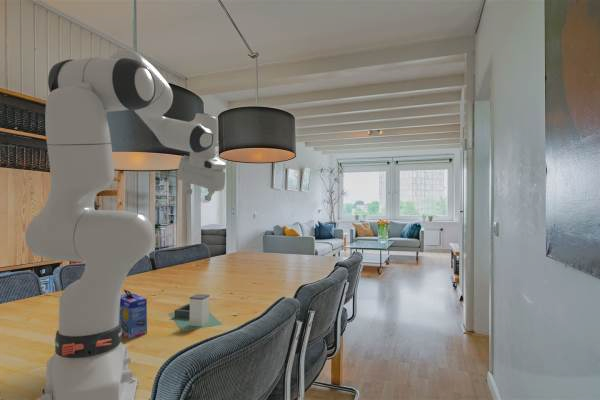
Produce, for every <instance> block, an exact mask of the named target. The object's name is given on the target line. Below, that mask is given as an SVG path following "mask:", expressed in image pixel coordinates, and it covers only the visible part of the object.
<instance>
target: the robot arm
mask: <svg viewBox="0 0 600 400" xmlns="http://www.w3.org/2000/svg"><path fill="white" fill-rule="evenodd" d="M47 81H48V82H47V83H48V89H49V93H48V95H47V97H46V101H45V112H44V115H45V116H44V117H45V118H44V120H45V121H44V124H45V125H44V128H45V129H44V130H45V138H46V144H47V145H46V147H47V153H48V154H47V155H48V163H49V171H50V173H49V174H50V187H49V193H48V197H47V200H46V202H45V205H44V207H43V208H42V210H41V211H40V212H39V213H38V214H37V215H35V216H34V217H33V218H32V219H31V220H30V222H28V224H27V226H26V229H25V235H24V236H25V237H24V239H25V240H24V241H25V244H26V247H27V249H28V250H29V252H30V253H32V254H33V255H34V256H37V257H40V258H44V259H47V260H52V261H56V262H84V264H85V266H84V270H83V273H82V275H81V277H80V278H79V279H77V280H75V281H74V282H72V283H70V284H69V285H68V286H66V287H65V288H64V289H63V291H62V292H61V293H60V295H59V298H58V300H59V301H58V330H57V331H56V333H55V338H54V345H55V346H54V354H53V355H52V356H51V357H50V358H48V360H46V371H45V372H46V373H45V375H46V377H45V386H44V387H43V389H42V394H43V395H41V396H39V397H38V398H36V399H35V400H134V396H135V397H136V395H135V390H136V391H137V389H136V386H137V387H138V384H137V382H138V381H139V380H138V377H136V376H133V369H128V368H129V367H128V366H129V365H130V364H131V357H130V356H129V357H128V353H129V352H128V351H129V347H128V346H127V345H126V344H124V343H123V342H122V328H121V322H120V321H119V313H120V298H121V295H122V290H123V286H124V282H125V280H126V277H127V276H128V274H129V273H130V271H131V270H132V268H133V267H134V265H136V263H138V262H139V261H140V260H142V259H143V258H145V257H146V256H147V255H148V253H149V252H150V250H151V249H152V246H153V245H154V241H155V240H154V239H155V229H154V227H153V224H152V223H151V221H150V220H149V218H148V217H147V216H146V215H145V214H141V213H136V212H132V211H127V210H121V209H120V210H119V209H118V210H116V209H115V210H113V209H112V210H110V209H95V201H96V197H97V195H98V194H99V193H101V192H103V191H104V190H106V189H107V188H109V186H111V184H112V183H113V182H114V179H115V175H116V174H115V166H114V165H115V163H114V156H113V148H112V147H113V146H112V139H111V133H110V132H111V131H110V126H109V122H108V118H107V113H108V112H109V113H110V112H120V111H128V110H129V111H132V113H134V115H135V116H136V117H137V119H139V121H140V122H141V123H142V124H143V125H144V126H145V128H146V129H147V131H149V132H150V135H151V137H152V139H153V141H154V142H155V144H156V145H157V146H159V148H160V147H161V148H166V149H174V150H177V151H178V150H179V151H184V152H188V153H189V155H183V156H181V157H180V158H179V159H180V161H179V163H178V167H177V172H176V178H177V180H179V181H182V182H183V184H184V188H185V194H187V195H192V194H193V189H192V188H191V185H195V186H198V187H201V188H204V189H207V194H205V195H204V201H206V202H211V200H212V196H213V195H214V193H216V192H221V191H223V190H224V189H225V186H226V185H225V184H226V172H225V169H226V167H227V164H226V163H225V162H224V161H223V160H221V159H220V158H218V157H217V156H216V154H217V152H216V151H217V150H216V145H217V143H218V139H219V138H218V137H219V120H218V118H217V117H216V116H214V115H212V114H208V113H204V112H197V113H196V114H195V116H194V119H192V120H190V121H185V120H181V119H176V118H171V117H167V116H164V115H165V114H166V113H167V112H168V111H169V110H170V109H171V107H172V104H173V99H174V93H173V90H172V87H171V86H170V85H169V83H168V81H167V80H166V78H165V77H164V76H163V75H162V74H161V73H160V72H159V71H158V69H156V68H155V67H154V66H153V65H152V63H150V62H149V61H148V60H147V59H146V58H145V57H143V55H141V54H140V53H138V52H137V51H136V50H135V51H134V50H131V49H127V48H125V49H120V50H119V49H118V50H117V51H115V52H113V53H112V54H110V55H109V57H103V58H102V57H99V56H97V57H86V58H79V59H78V58H77V59H66V60H61V61H60V62H57V63H55V64H54V65H52V67H51V68H50V70H49V73H48V79H47ZM130 383H132V384H130ZM138 383H139V382H138Z"/></svg>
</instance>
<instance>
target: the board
mask: <svg viewBox="0 0 600 400" xmlns="http://www.w3.org/2000/svg"><path fill="white" fill-rule="evenodd" d="M168 315H169V316H170V318H171V319H172V320H173V321H174V323H175V325H177V327H178V328H179V330H180V331H181V332H187V331H193V330H198V329H199V330H200V329H205V328H206V329H207V328H211V327H217V326H224V324H223V323H222V322H221V321H220V320H219V319H218V318H217V317H215V316H214V315H213V314H212V313H211V312H210V311H209V322H208V323H207V324H205V325H204V326H202V327H201V326H191V325H189V318H190V303H186V304H185V305H182V306H181V307H178V308H176V309H174V312H168Z"/></svg>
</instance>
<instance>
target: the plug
mask: <svg viewBox="0 0 600 400" xmlns="http://www.w3.org/2000/svg"><path fill="white" fill-rule="evenodd" d="M189 304H190V318H189V325H191V326H201V327H202V326H204V325H205V324H207V323H208V322H209V312H210V294H203V293H202V294H201V293H196V294H193V295H191V296H190V297H189Z"/></svg>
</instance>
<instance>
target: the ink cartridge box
mask: <svg viewBox="0 0 600 400" xmlns="http://www.w3.org/2000/svg"><path fill="white" fill-rule="evenodd" d="M123 291H124V293H125V294H121V298H120V313H119V321H120V322H121V328H122V334H121V336H122V335H123V336H124V337H125V338H129V339H132V338H133V339H134V338H137V337H141V336H144V335H147V334H148V310H147V309H148V303H147V301H148V300H147V298H146V297H144V296H140V295H138V294H136V293H133V292H131V291H130V290H127V289H123Z"/></svg>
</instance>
